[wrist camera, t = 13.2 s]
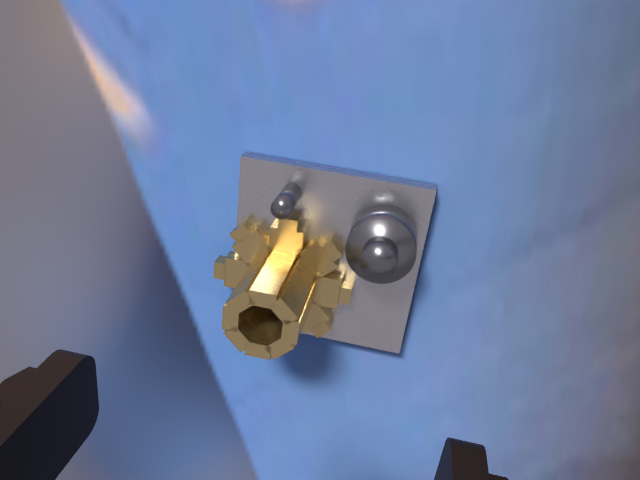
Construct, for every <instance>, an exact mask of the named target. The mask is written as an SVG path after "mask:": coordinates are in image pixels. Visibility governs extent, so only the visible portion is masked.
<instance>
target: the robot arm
mask: <svg viewBox="0 0 640 480" xmlns="http://www.w3.org/2000/svg"><path fill="white" fill-rule="evenodd" d="M98 411H99V402H98V389H97V377H96V365H95V360H94V358H93V357H91V356H88V355H84V354H79V353H74V352H70V351H66V350H56V351H55V352H53V353H52V354H51V355H50V356H49V357H48V358H47V359H46V360H45V361H44V362H43V363H42V364H41V365H40V366H39V367H38V368H32V367H28V368H26V369H24V370H22V371H20V372H18V373H17V374H14V375H13V376H11V377H9V378H7V379H5V380H4V381H3V382H2V383H1V384H0V480H55V479H56V478H57V476H58V475H59V474H60V472H61V471H62V470H63V469H64V467H65V466H66V465H67V463H68V462H69V461H70V459H71V458H72V457H73V456H74V454H75V453H76V452H77V450H78V449H79V448H80V446H81V445H82V444H83V442H84V441H85V440H86V439H87V437H88V436H89V434H90V433H91V431H92V430H93V427H94V425H95V423H96V420H97V416H98ZM434 480H508V478H506V477H502V476H497V475H493V474H489V472H488V465H487V457H486V450H485V447H484V446H483V445H480V444H475V443H471V442H466V441H462V440H458V439H453V438H447V440H446V442H445V445H444V448H443V452H442V455H441V458H440V462H439V465H438V468H437V471H436V475H435V478H434Z"/></svg>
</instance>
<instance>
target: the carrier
mask: <svg viewBox="0 0 640 480" xmlns="http://www.w3.org/2000/svg"><path fill="white" fill-rule="evenodd" d="M436 192H437V185H435V184H430V183H424V182H418V181H412V180H406V179H401V178H395V177H389V176H383V175H377V174H372V173H366V172H360V171H354V170H348V169H343V168H337V167H331V166H325V165H319V164H314V163H308V162H302V161H296V160H290V159H285V158H279V157H273V156H267V155H261V154H256V153H250V152H245V153H244V154H243V155H242V156H241V161H240V179H239V196H238V214H237V226H238V225H240V224H241V223H242V222H244V221H245V220H247V219H249V220H250V222H251V223H252V224H253V225H254V227H256V226H258V225H259V224H261V225H262V226H263V227H264V229H265V230H266V231H267V232H268V233H269V235H270V227H271V225H272V224H273V222H274V221H278V219H286V218H287V217H288V216H289V215H290V214H291V213H292V214H298V215H301V220H300V226H305V227H307V231H306V240H305V244H307V243H308V242H310V241H311V240H313V239H314V238H316V237H318V236H319V235H321V236H322V238H323V239H324V240H326V239H328V238H329V237H331V236H332V235H334V236H335V237H336V238H337V240H338V241H339V242H340V243H341V245H342V246H343V247H344V249H345V250H344V253H343V256H342V257H340V258H339V259H340V263H339V266H338V268H336V269H335V270H333V271H334V272H340V273H344V276H343V280H348V281H353V282H354V284H353V290H352V296H351V300H350V304H349V305H345V304H340V303H339V305H338V308H337V309H334V308H330V309H331V310H332V314H331V317H330V319H331V320H332V321H333V325H332V328H331V331H329V332H327V333H326V334H324V335H322V336H320V337H322V338H327V339H332V340H336V341H341V342H346V343H351V344H355V345H360V346H365V347H370V348H375V349H379V350H384V351H389V352H394V353H400V349H401V345H402V340H403V336H404V331H405V327H406V323H407V318H408V314H409V310H410V305H411V301H412V297H413V292H414V288H415V283H416V279H417V275H418V270H419V266H420V262H421V257H422V253H423V249H424V244H425V240H426V235H427V231H428V227H429V222H430V218H431V214H432V209H433V205H434V201H435V196H436ZM235 252H236V251H235ZM234 289H235V288H233V290H234ZM301 333H303V334H308V335H312V336H315V335H314V334H313V333H312V332H311V331H309V332H307V333H304V332H303V331H302V332H301Z"/></svg>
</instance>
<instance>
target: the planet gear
mask: <svg viewBox="0 0 640 480" xmlns="http://www.w3.org/2000/svg"><path fill="white" fill-rule="evenodd" d="M300 220H301V215H298V214H292V213H291V214H290V215H289V216H288V217H287V218H286V219H278V221H274V222H273V224H272V225H271V227H270V235H269V233H268V232H267V231H266V230H265V229H264V227H263V226H262V225H261V224H259V225H258V226H256V227H254V225H253V224H252V223H251V222H250V220H249V219H247V220H245V221H244V222H242V223H241V224H240V225H238V226H237V227H235V228H234V229H233V231H232V232H231V233H230V236H231V237H232V238H233V239H234V240H235V243H234V244H233V245H232V248H233V249H234V250H235V251H236V252H232V251H230V252H229V254H228V255H227V256H221V255H220V256H219V257H218V258H217V259H216V261H215V262H214V278H217V279H222V280H224V286H226V287H231V288H235V289H234V290H233V292H232V293H231V295H230V297H229V298H228V300H227V301H226V303H225V305H224V306H223V318H222V329H224V330H225V332H224V334H225V335H226V337H227V338H228V339H229V340H230V341H231V342H232V343H233V344H234V345H235V347H236V348H237V349H238V350H239V351H240V352H242V351H243V350H245V355H249V356H254V357H258V358H263V359H267V360H270V359H271V357H273V358H274V360H275V359H276V358H278V357H280V356H282V355H284V354H285V353H287V352H289V351H291V350H292V349H294V348H295V346H296V345H297V343H298V340H299V338H300V335H301V332H302V331H303V332H304V333H307V332H309V331H311V332H312V333H313V334H314V335H315V337H316V338H318V337H320V336H322V335H324V334H326V333H327V332H329V331H331V328H332V325H333V321H332V320H331V319H330V317H331V314H332V310H331V309H330V308H334V309H337V308H338V305H339V303H340V304H345V305H349V304H350V300H351V296H352V290H353V284H354V282H353V281H348V280H343V276H344V273H340V272H334V271H333V270H335V269H336V268H338V266H339V263H340V259H339V258H340V257H342V256H343V253H344V250H345V249H344V247H343V246H342V245H341V243H340V242H339V241H338V240H337V238H336V237H335V236H334V235H332V236H331V237H329V238H328V239H326V240H324V239H323V238H322V236H321V235H319V236H318V237H316V238H314V239H313V240H311V241H310V242H308V243H307V244H305V240H306V231H307V227H305V226H300Z"/></svg>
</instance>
